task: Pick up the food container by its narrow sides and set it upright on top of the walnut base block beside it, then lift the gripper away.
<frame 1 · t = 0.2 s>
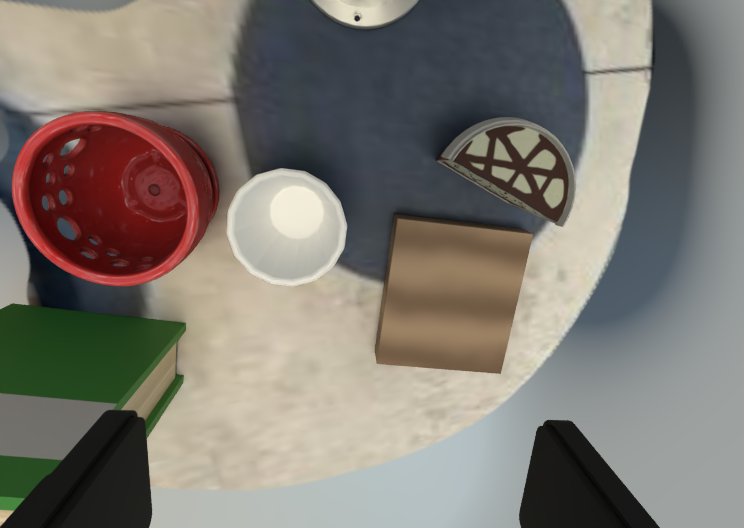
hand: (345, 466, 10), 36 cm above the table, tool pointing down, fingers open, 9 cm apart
walnut base: (445, 291, 48), on the table
hardback book: (102, 343, 47), on the table
plant pot: (168, 187, 43), on the table
cup: (297, 211, 45), on the table
food container: (488, 156, 44), on the table
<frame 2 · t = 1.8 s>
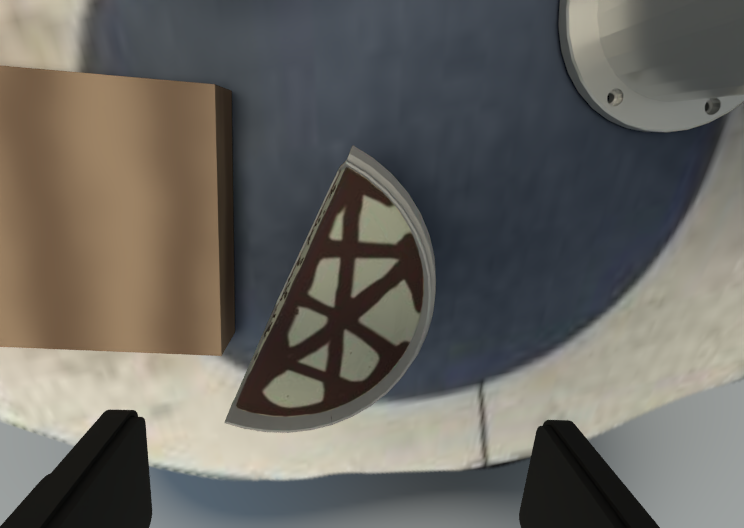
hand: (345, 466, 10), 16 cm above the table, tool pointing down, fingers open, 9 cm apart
walnut base: (88, 211, 24), on the table
food container: (352, 260, 26), on the table
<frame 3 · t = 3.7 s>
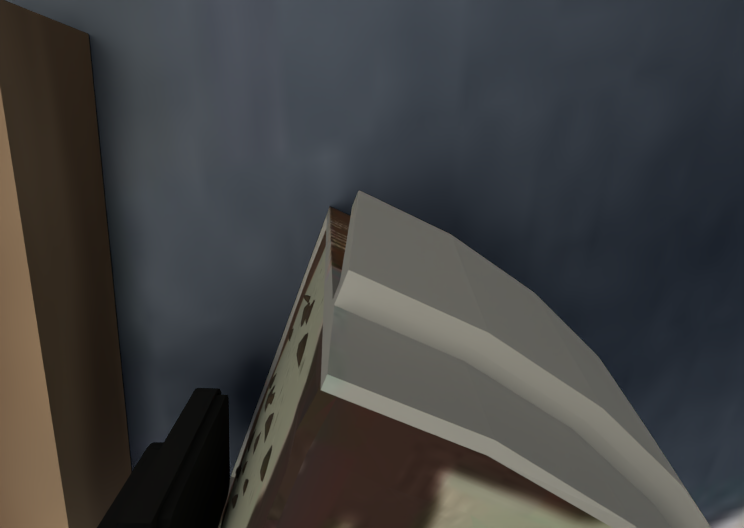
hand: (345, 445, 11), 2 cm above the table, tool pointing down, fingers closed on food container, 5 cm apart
food container: (371, 380, 13), on the table, touching gripper
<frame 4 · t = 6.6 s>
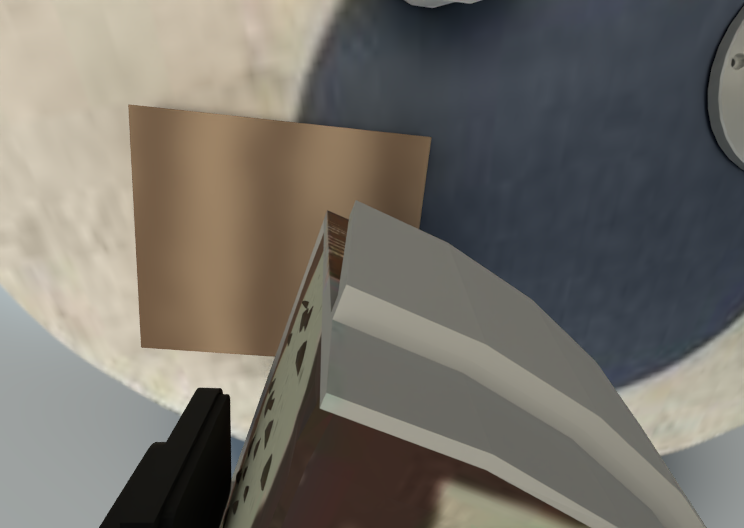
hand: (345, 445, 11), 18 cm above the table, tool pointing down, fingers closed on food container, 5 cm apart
walnut base: (285, 236, 28), on the table
food container: (371, 382, 13), point 16 cm above the table, touching gripper
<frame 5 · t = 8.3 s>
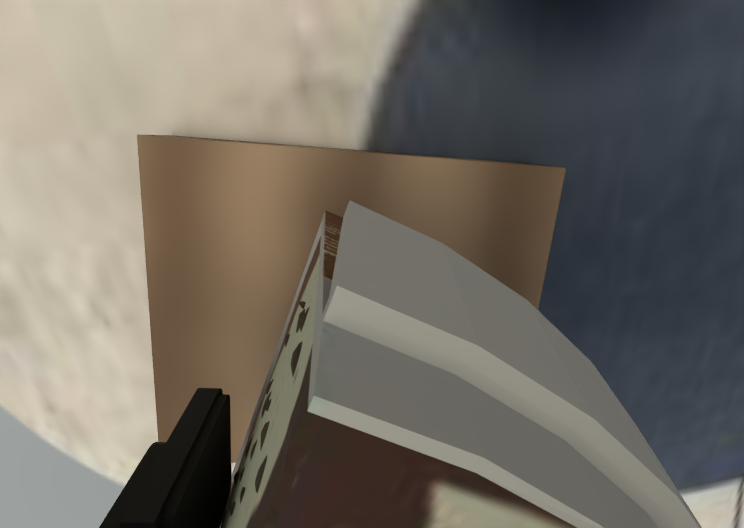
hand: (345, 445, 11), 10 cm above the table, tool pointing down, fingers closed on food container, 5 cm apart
walnut base: (348, 299, 21), on the table
food container: (369, 383, 13), point 8 cm above the table, touching gripper
when the fingers open (6 cm above the table, at t = 9.5 s): food container moves 1 cm, resting on walnut base.
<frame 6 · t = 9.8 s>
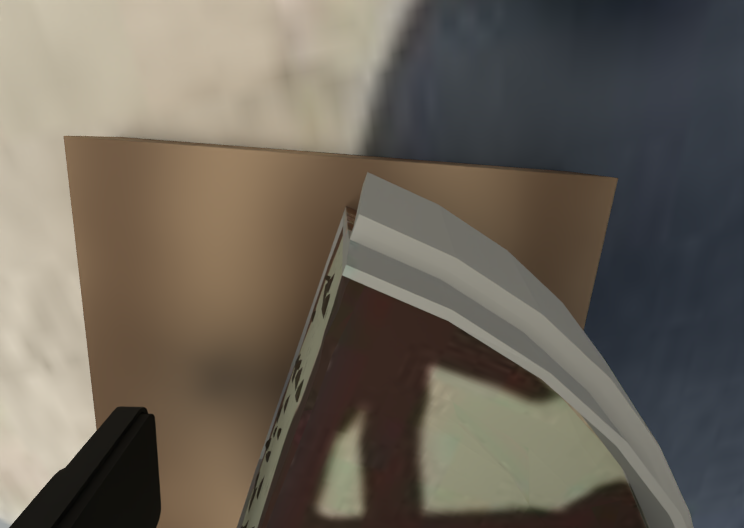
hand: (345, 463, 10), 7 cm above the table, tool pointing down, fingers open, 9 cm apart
walnut base: (342, 335, 17), on the table
food container: (387, 367, 14), point 3 cm above the table, touching gripper, walnut base
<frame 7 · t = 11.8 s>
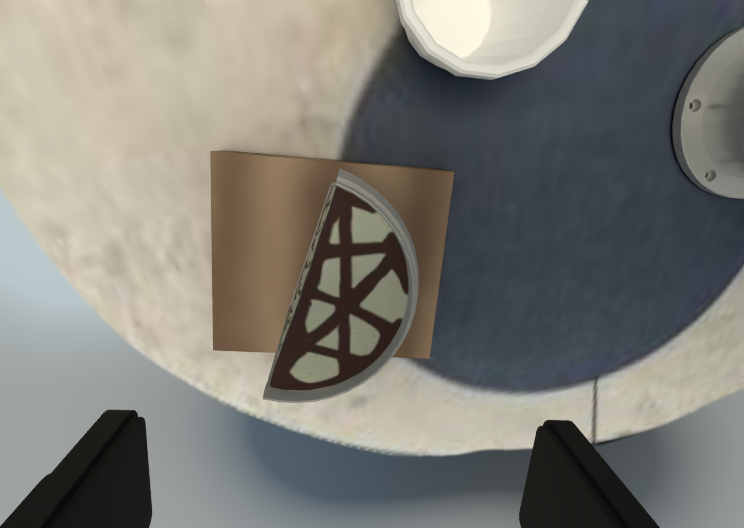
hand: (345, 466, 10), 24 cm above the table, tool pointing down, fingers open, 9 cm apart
walnut base: (330, 253, 33), on the table
cup: (447, 19, 29), on the table
food container: (351, 260, 30), point 3 cm above the table, touching walnut base
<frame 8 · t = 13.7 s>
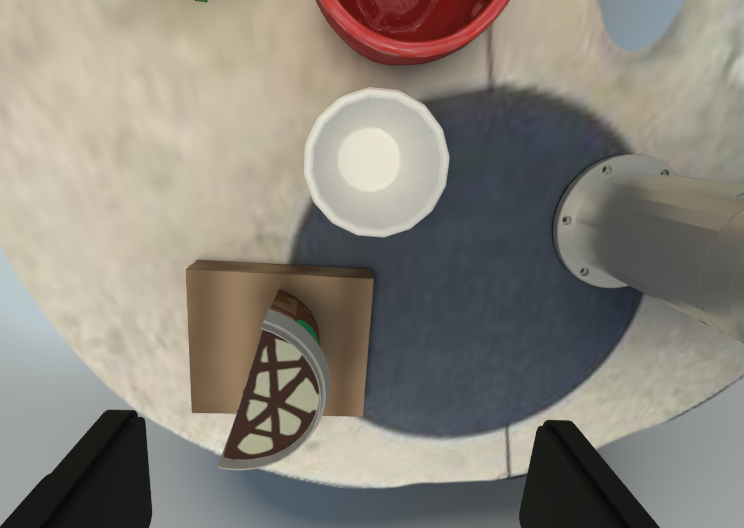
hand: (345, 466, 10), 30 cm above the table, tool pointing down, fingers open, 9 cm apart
walnut base: (284, 333, 42), on the table
cup: (368, 159, 38), on the table
food container: (297, 344, 39), point 3 cm above the table, touching walnut base
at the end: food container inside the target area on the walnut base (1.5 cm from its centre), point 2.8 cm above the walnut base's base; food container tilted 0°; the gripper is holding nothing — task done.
